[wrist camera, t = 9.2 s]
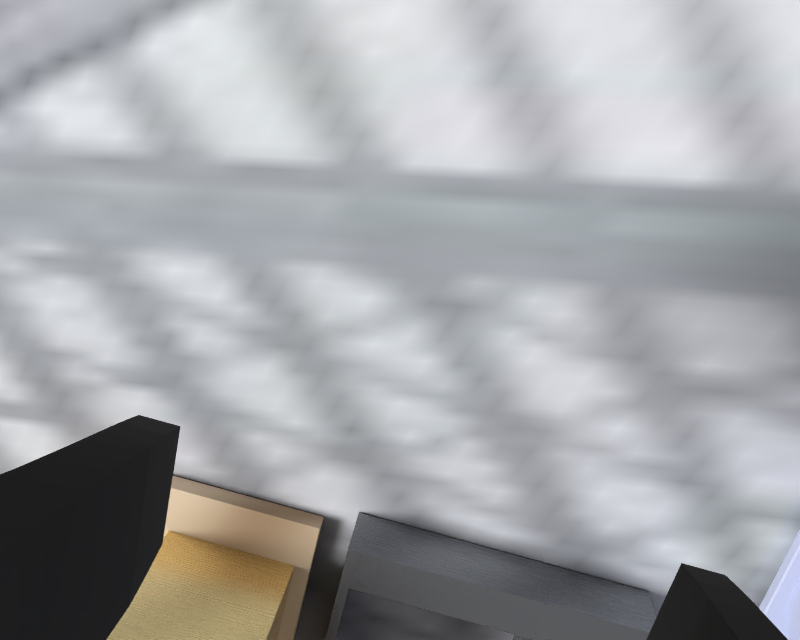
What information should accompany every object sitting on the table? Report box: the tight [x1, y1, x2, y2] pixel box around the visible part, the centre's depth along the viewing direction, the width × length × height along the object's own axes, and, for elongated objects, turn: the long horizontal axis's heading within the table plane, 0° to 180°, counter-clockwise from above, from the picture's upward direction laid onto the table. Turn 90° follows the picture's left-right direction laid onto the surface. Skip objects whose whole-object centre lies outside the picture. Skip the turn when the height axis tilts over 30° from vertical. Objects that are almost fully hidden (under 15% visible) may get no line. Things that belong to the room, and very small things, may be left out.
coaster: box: [163, 476, 324, 640], centre depth 24 cm, size 5×7×1 cm
